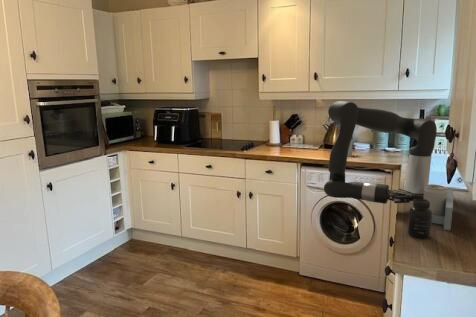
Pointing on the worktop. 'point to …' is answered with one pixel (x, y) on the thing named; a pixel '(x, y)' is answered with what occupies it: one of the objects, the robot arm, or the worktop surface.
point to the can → (436, 198)
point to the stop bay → (448, 212)
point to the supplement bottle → (420, 219)
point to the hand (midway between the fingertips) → (423, 199)
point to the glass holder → (350, 148)
